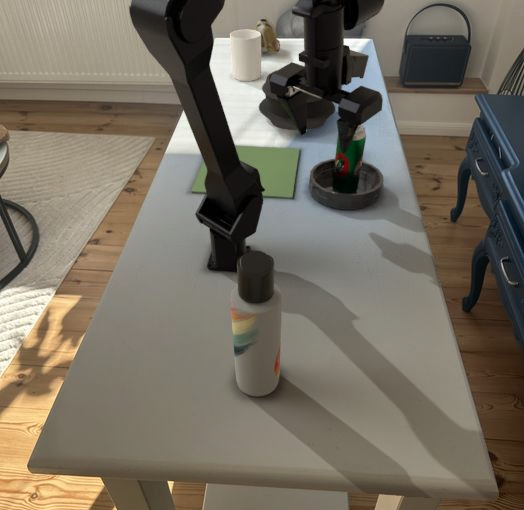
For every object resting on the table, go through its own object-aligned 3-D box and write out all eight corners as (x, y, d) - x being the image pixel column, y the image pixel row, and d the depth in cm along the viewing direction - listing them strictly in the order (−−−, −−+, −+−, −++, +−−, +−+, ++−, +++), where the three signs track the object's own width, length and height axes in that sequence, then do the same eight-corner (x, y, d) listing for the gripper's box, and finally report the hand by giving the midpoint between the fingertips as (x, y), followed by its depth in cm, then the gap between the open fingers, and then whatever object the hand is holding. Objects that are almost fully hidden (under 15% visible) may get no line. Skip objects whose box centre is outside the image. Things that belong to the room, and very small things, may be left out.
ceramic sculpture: (282, 10, 147) (279, 29, 137) (282, 42, 153) (279, 62, 144) (247, 10, 147) (242, 28, 138) (248, 42, 154) (244, 61, 145)
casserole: (338, 138, 110) (343, 100, 104) (257, 138, 110) (257, 99, 104) (330, 95, 127) (334, 59, 120) (259, 94, 127) (259, 59, 121)
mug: (235, 66, 141) (233, 24, 133) (263, 66, 141) (263, 25, 133) (230, 81, 133) (228, 38, 125) (260, 82, 133) (259, 39, 125)
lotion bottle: (278, 363, 66) (281, 241, 51) (280, 397, 62) (285, 276, 47) (236, 364, 66) (227, 243, 51) (236, 398, 62) (227, 278, 47)
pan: (381, 212, 90) (384, 197, 88) (306, 208, 91) (308, 192, 89) (378, 175, 99) (381, 160, 97) (310, 171, 100) (312, 156, 98)
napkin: (292, 198, 93) (292, 197, 93) (191, 192, 95) (191, 190, 95) (299, 150, 106) (299, 148, 106) (210, 145, 108) (210, 144, 108)
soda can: (356, 197, 93) (366, 135, 84) (330, 195, 94) (337, 133, 85) (358, 184, 96) (368, 123, 87) (333, 181, 97) (340, 121, 88)
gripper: (411, 35, 68) (397, 139, 81) (312, 9, 77) (313, 106, 90) (362, 67, 64) (355, 170, 77) (263, 36, 73) (272, 133, 86)
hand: (323, 142), depth 82 cm, fingers open, 9 cm apart
